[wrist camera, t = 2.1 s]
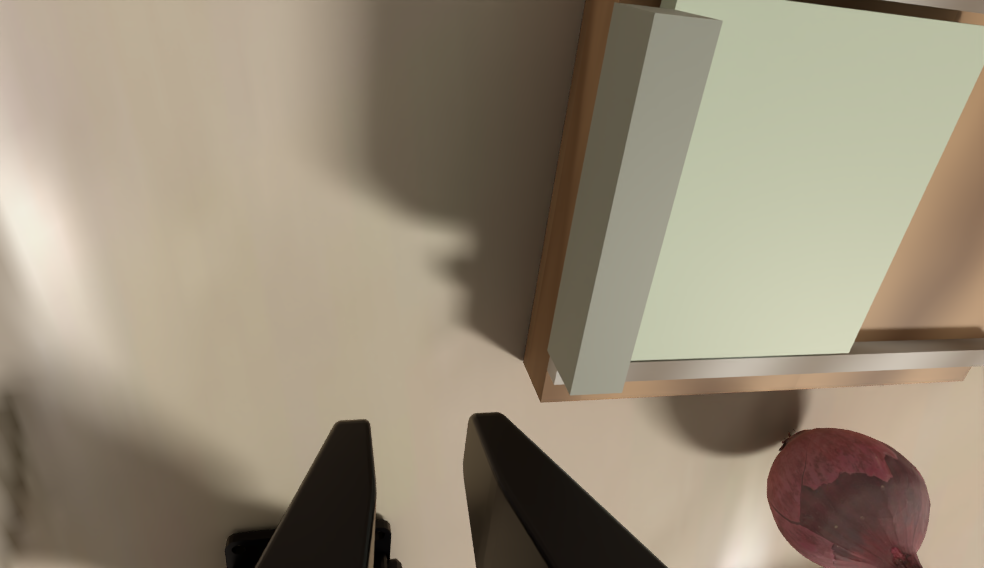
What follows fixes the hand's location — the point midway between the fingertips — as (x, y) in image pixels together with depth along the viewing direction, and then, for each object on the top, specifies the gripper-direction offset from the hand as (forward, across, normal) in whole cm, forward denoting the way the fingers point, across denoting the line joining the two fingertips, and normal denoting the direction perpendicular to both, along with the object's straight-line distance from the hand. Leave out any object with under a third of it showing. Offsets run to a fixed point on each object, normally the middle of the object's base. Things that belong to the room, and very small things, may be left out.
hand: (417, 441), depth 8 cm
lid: (+10, -11, 0) cm, 15 cm away
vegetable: (+13, -20, +13) cm, 27 cm away
